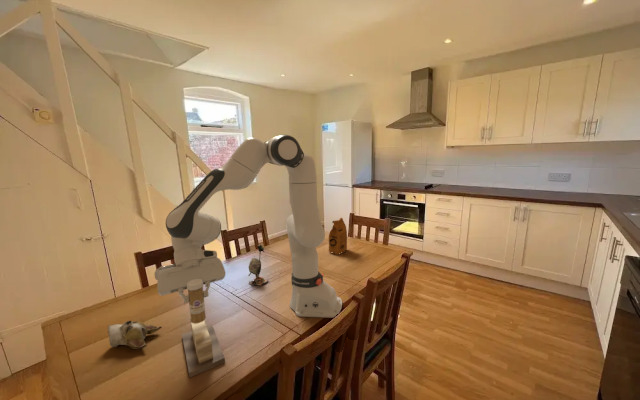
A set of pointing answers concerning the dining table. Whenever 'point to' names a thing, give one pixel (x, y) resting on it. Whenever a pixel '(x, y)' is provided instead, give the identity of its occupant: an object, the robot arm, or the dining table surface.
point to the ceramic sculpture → (130, 334)
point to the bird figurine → (256, 269)
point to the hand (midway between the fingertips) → (196, 299)
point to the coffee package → (338, 237)
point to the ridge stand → (202, 348)
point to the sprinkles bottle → (196, 300)
